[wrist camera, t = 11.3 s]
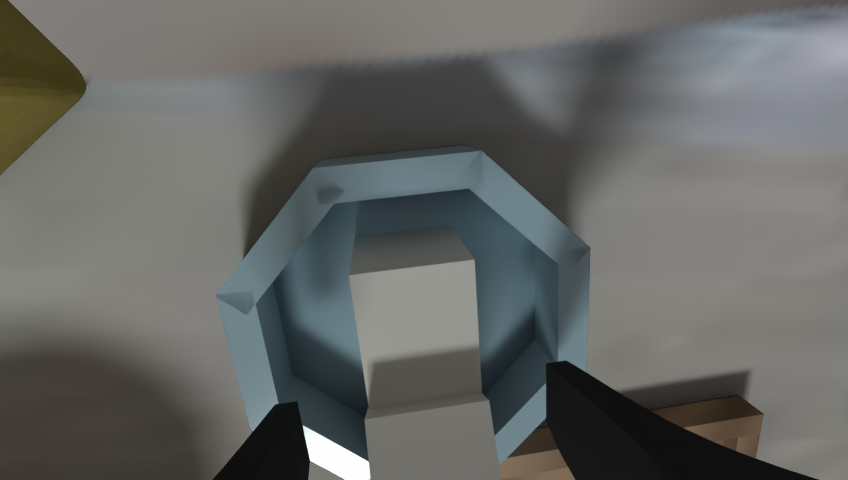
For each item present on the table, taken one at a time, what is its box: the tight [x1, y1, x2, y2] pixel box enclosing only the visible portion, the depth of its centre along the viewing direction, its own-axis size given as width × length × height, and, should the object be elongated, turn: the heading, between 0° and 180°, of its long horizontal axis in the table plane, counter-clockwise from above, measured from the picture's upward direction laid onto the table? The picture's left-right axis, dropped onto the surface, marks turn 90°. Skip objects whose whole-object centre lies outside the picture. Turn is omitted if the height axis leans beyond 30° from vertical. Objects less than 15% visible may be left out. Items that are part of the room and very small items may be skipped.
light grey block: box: [349, 226, 482, 409], centre depth 13 cm, size 3×4×4 cm
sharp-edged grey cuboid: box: [365, 392, 501, 480], centre depth 12 cm, size 3×4×4 cm
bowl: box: [216, 145, 591, 480], centre depth 14 cm, size 11×11×2 cm
